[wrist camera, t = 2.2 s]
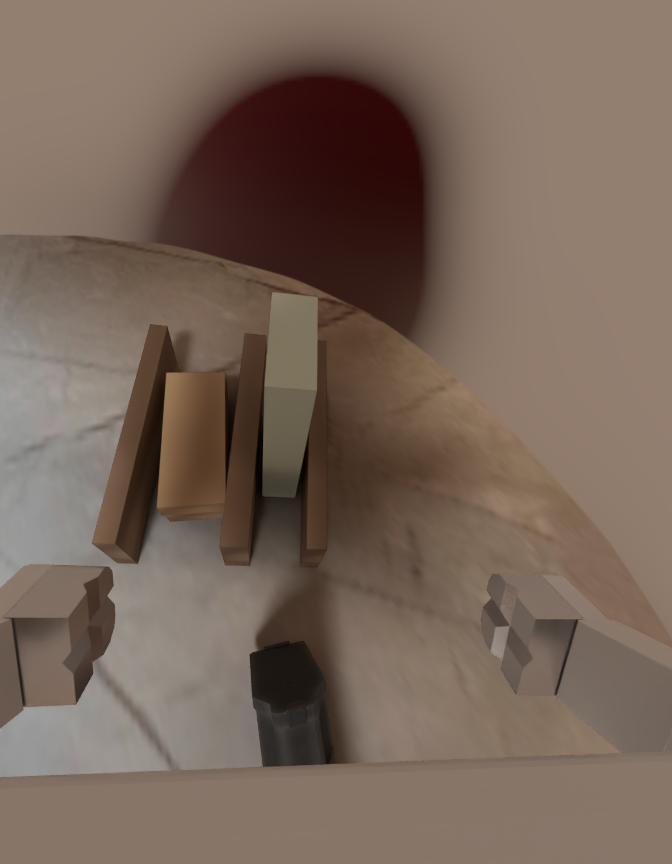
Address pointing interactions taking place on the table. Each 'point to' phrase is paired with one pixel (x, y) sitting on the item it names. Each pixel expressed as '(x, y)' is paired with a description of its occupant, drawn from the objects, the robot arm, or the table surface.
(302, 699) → the magazine
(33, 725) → the table surface
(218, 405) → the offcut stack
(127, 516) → the walnut rack
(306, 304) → the tall panel
